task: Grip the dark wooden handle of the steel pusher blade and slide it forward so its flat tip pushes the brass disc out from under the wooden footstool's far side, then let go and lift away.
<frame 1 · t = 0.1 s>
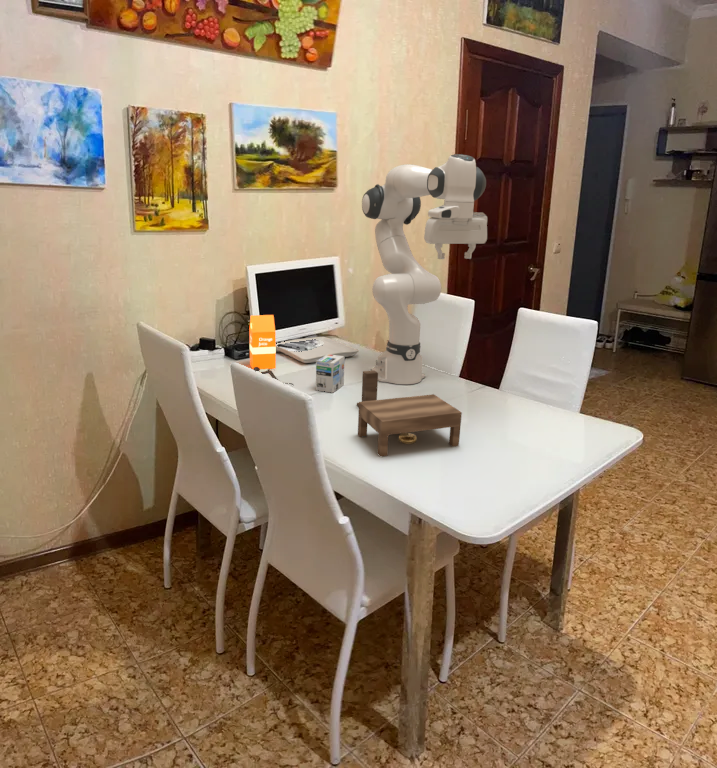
hand: (454, 258, 195), 48 cm above the table, tool pointing down, fingers open, 8 cm apart
light bulb box: (330, 388, 224), on the table
square plate: (314, 355, 266), on the table
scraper: (368, 407, 205), on the table
token: (407, 441, 181), on the table
wooden footstool: (407, 440, 181), on the table
orange juice: (262, 366, 246), on the table, touching hacksaw
hacksaw: (273, 378, 233), on the table, touching orange juice
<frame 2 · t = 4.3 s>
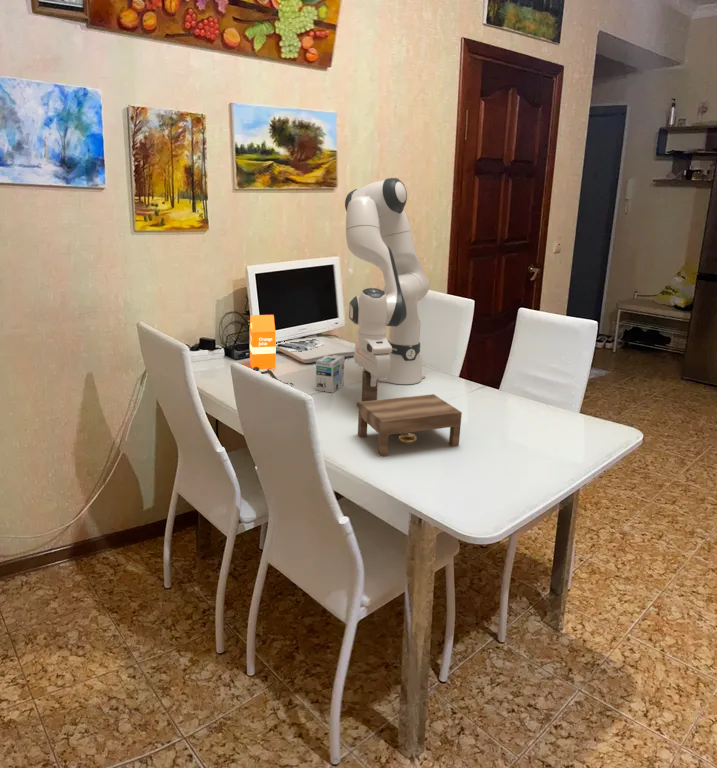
hand: (369, 383, 203), 8 cm above the table, tool pointing down, fingers closed on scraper, 3 cm apart
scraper: (368, 407, 205), on the table, touching gripper
everything else where it was.
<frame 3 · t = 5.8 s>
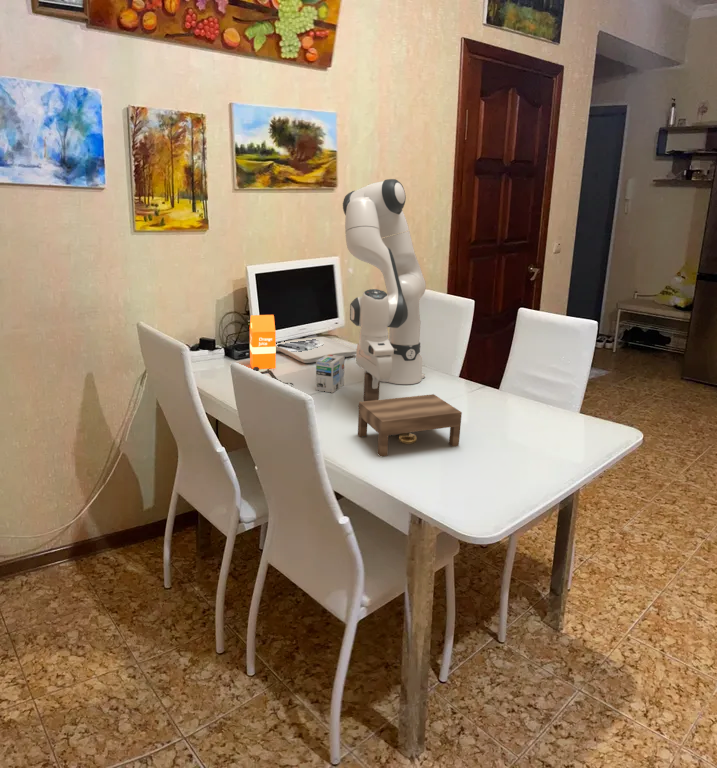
hand: (371, 385, 201), 8 cm above the table, tool pointing down, fingers closed on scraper, 3 cm apart
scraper: (370, 409, 203), on the table, touching gripper
orange juice: (262, 366, 246), on the table
hacksaw: (272, 378, 233), on the table
everything else where it was.
when the fingers open (8 cm above the table, at t = 9.9 s): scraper stays where it is, on the table.
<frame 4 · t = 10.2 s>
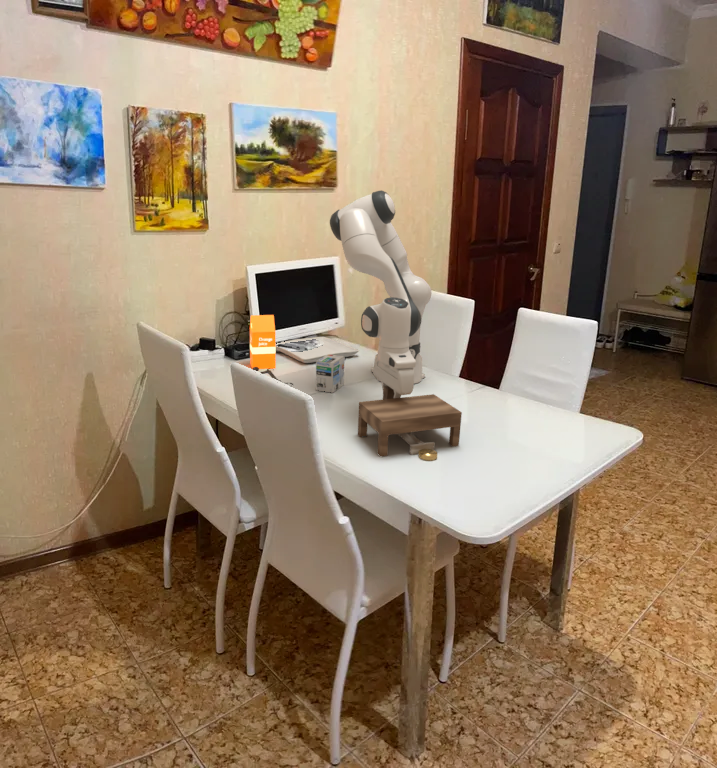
hand: (391, 399, 189), 8 cm above the table, tool pointing down, fingers open, 5 cm apart
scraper: (389, 425, 191), on the table
token: (427, 457, 170), on the table
orange juice: (262, 366, 246), on the table, touching hacksaw
hacksaw: (272, 378, 233), on the table, touching orange juice
everything else where it was.
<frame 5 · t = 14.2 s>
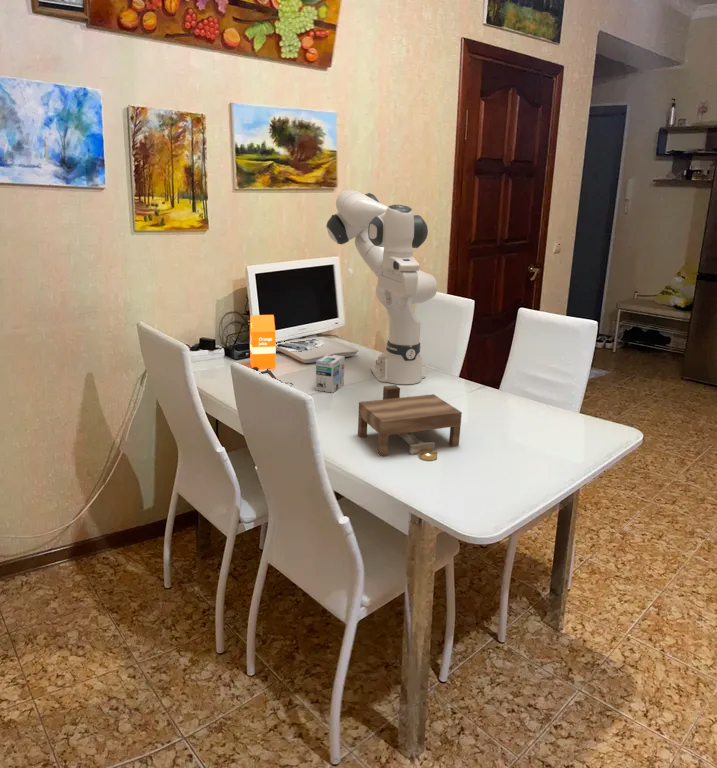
hand: (395, 307, 195), 33 cm above the table, tool pointing down, fingers open, 8 cm apart
orange juice: (262, 366, 246), on the table
hacksaw: (272, 378, 233), on the table
everything else where it was.
at the end: token inside the target area (6.4 cm from its centre), on the table; token moved 11.9 cm from its start; token on the table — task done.
